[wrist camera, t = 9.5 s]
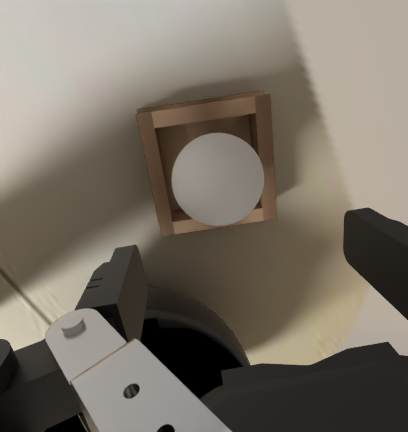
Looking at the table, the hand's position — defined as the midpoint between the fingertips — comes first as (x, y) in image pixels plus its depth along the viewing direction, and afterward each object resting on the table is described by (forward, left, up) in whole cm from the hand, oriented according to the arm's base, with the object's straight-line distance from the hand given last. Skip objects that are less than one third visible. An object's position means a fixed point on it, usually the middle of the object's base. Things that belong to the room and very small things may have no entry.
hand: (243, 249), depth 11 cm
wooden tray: (0, 0, -18) cm, 18 cm away
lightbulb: (0, 0, -17) cm, 17 cm away
